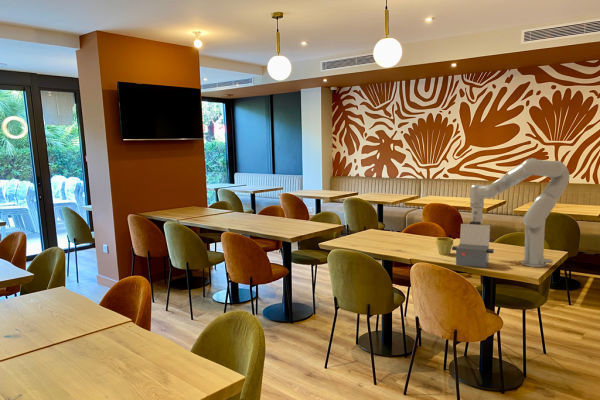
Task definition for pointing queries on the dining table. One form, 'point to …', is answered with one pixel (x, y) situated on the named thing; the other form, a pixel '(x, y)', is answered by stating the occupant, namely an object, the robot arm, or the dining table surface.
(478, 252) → the cooker
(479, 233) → the lid
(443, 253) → the plant pot
